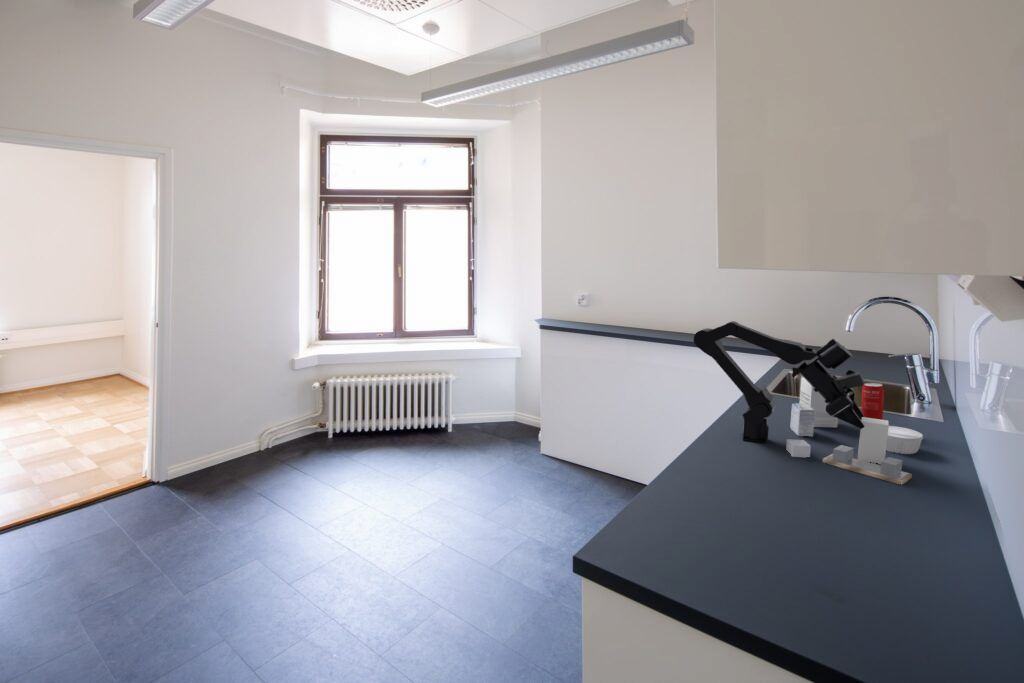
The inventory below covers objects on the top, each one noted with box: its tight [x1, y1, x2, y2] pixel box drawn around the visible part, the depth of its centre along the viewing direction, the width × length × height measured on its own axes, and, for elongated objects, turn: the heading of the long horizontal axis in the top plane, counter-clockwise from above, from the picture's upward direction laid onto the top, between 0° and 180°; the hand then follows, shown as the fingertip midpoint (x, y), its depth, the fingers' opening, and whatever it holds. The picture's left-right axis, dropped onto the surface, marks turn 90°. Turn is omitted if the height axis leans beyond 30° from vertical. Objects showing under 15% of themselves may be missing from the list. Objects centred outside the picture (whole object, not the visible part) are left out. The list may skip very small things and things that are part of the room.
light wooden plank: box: [826, 454, 909, 480], centre depth 135 cm, size 17×6×1 cm, turn 37°
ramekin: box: [886, 425, 924, 455], centre depth 150 cm, size 11×11×5 cm
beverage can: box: [860, 382, 885, 421], centre depth 167 cm, size 6×6×15 cm
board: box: [822, 453, 913, 486], centre depth 135 cm, size 18×7×1 cm, turn 37°
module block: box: [857, 417, 890, 465], centre depth 142 cm, size 6×5×11 cm
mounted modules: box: [832, 444, 904, 477], centre depth 135 cm, size 14×5×3 cm, turn 37°
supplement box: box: [799, 376, 839, 429], centre depth 173 cm, size 9×9×15 cm
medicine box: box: [789, 402, 815, 438], centre depth 164 cm, size 8×4×9 cm, turn 168°
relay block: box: [785, 438, 812, 458], centre depth 146 cm, size 4×5×4 cm
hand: (863, 423), depth 142 cm, fingers open, 9 cm apart
